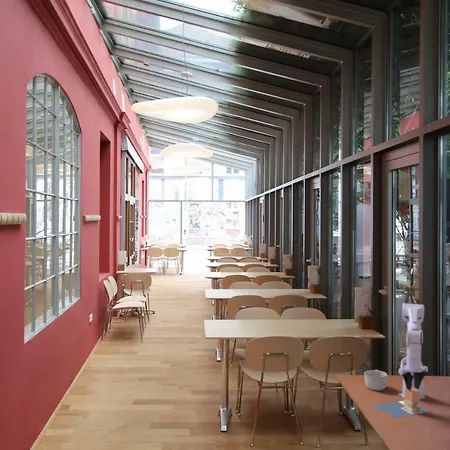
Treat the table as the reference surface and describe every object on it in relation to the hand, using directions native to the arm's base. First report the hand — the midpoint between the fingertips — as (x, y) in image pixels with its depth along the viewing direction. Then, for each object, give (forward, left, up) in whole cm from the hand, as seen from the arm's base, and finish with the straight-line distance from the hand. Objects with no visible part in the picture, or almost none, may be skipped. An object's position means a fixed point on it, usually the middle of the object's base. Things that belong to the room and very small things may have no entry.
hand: (412, 388), depth 211 cm
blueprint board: (+3, -3, -10) cm, 11 cm away
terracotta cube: (0, 0, -5) cm, 5 cm away
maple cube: (0, 0, -9) cm, 9 cm away
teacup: (-4, -29, -10) cm, 31 cm away
